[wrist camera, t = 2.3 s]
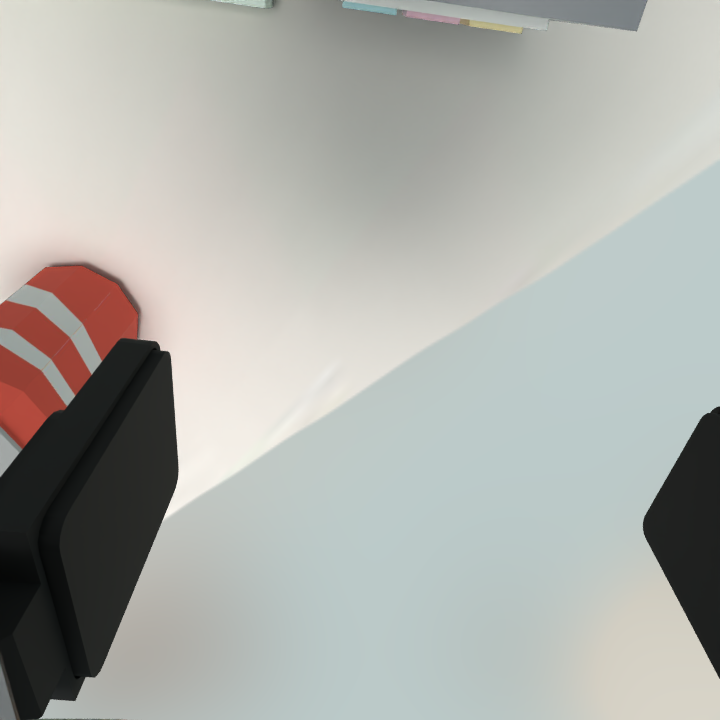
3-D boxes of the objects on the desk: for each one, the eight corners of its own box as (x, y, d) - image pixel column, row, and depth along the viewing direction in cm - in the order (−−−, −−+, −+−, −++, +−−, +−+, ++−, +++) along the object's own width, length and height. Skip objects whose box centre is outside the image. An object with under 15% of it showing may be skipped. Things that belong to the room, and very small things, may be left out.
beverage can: (12, 263, 30) (-167, 397, 20) (126, 258, 30) (3, 391, 20) (52, 357, 33) (-84, 511, 23) (156, 353, 33) (63, 507, 23)
